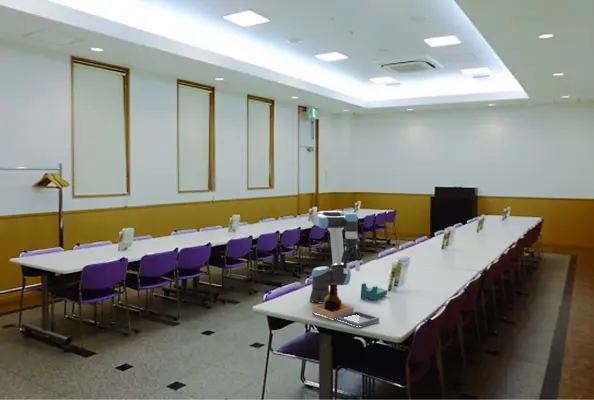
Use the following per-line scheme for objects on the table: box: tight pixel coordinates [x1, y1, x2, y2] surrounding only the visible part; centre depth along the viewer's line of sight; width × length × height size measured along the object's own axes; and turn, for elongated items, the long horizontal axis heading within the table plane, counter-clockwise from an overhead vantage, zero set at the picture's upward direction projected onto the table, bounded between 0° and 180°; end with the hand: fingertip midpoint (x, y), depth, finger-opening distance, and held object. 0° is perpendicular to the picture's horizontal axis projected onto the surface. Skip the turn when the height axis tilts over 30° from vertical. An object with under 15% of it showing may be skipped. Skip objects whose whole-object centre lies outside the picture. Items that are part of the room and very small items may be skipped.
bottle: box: [323, 283, 343, 312], centre depth 297 cm, size 12×6×20 cm, turn 55°
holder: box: [312, 303, 354, 319], centre depth 297 cm, size 18×18×5 cm
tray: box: [336, 310, 380, 327], centre depth 284 cm, size 18×18×2 cm
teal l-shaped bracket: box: [360, 282, 388, 301], centre depth 339 cm, size 18×11×10 cm, turn 140°
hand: (351, 272), depth 297 cm, fingers open, 13 cm apart
